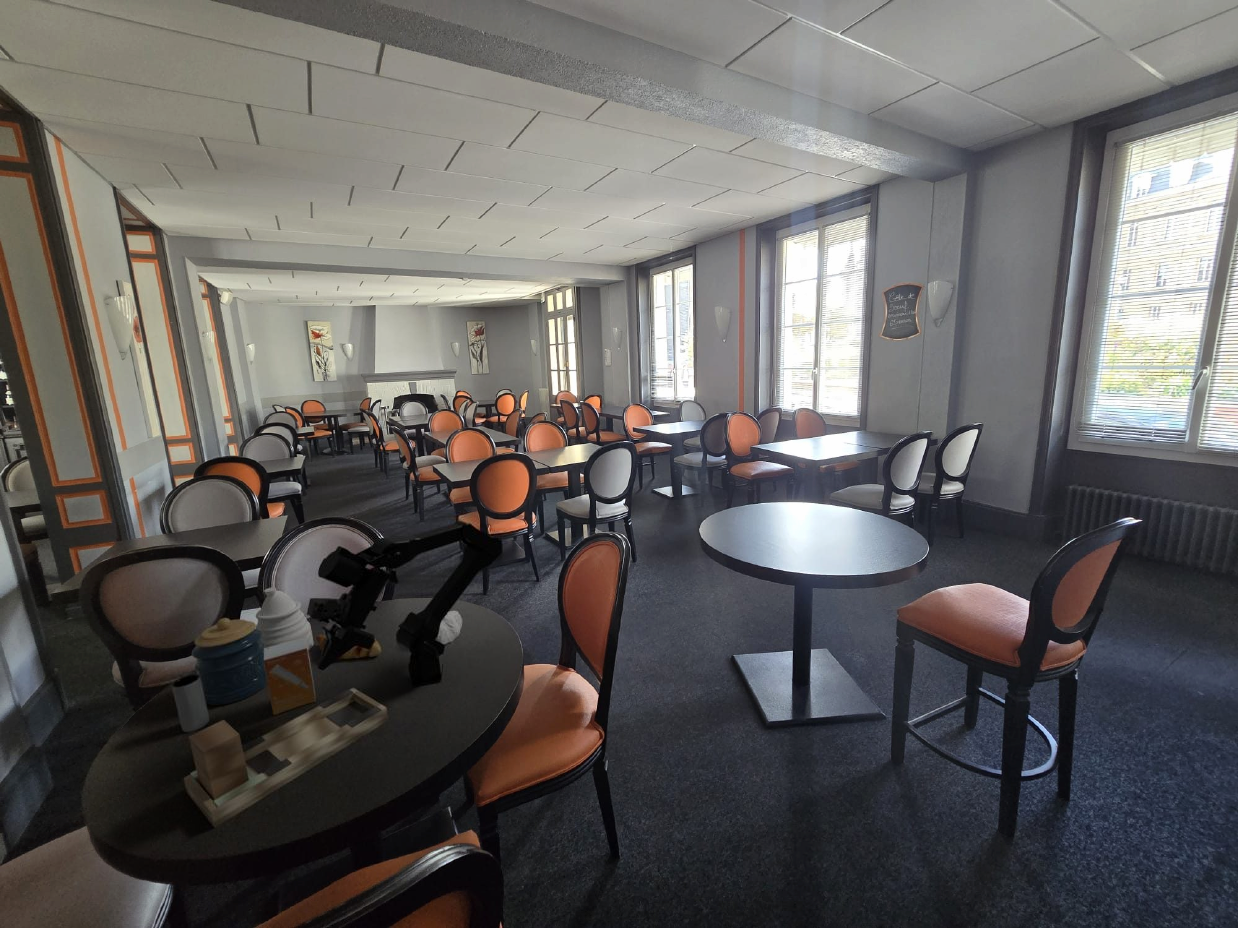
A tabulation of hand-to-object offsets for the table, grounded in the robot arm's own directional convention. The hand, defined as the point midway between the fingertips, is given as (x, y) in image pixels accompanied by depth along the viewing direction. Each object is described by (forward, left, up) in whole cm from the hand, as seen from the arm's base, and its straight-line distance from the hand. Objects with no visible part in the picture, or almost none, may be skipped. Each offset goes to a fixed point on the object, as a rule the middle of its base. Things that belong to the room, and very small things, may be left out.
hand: (320, 669), depth 104 cm
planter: (+28, -11, -13) cm, 33 cm away
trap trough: (+4, +6, -13) cm, 15 cm away
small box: (+10, -13, -13) cm, 21 cm away
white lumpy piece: (-21, -31, -13) cm, 39 cm away
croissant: (+4, -32, -14) cm, 35 cm away
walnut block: (+13, +13, -12) cm, 22 cm away
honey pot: (+20, -39, -13) cm, 46 cm away
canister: (+25, -23, -13) cm, 36 cm away
